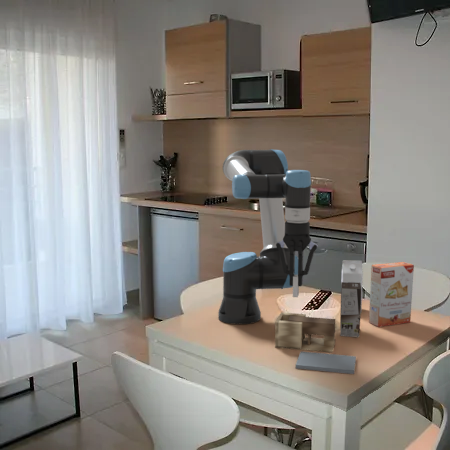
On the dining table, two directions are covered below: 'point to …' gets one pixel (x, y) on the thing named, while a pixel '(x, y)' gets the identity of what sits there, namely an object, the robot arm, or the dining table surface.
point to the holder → (299, 336)
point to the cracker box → (391, 293)
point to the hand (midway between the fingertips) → (295, 295)
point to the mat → (326, 362)
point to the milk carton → (352, 273)
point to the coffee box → (350, 309)
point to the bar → (315, 325)
